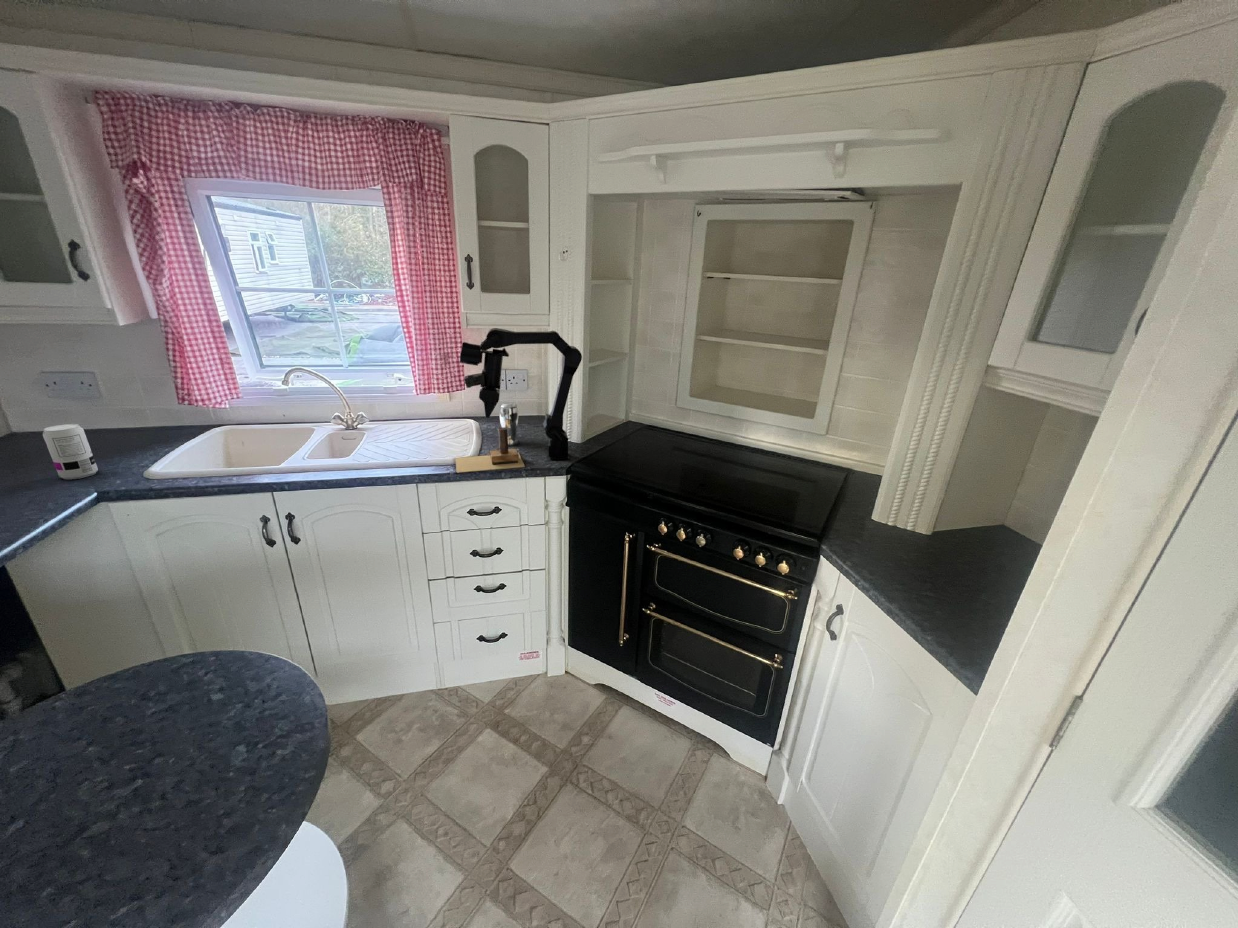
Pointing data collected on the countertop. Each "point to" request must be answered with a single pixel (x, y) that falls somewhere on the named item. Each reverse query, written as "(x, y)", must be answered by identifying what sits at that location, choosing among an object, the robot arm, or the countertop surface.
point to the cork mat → (482, 464)
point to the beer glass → (509, 421)
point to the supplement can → (70, 451)
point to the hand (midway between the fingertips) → (487, 413)
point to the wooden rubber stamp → (504, 450)
